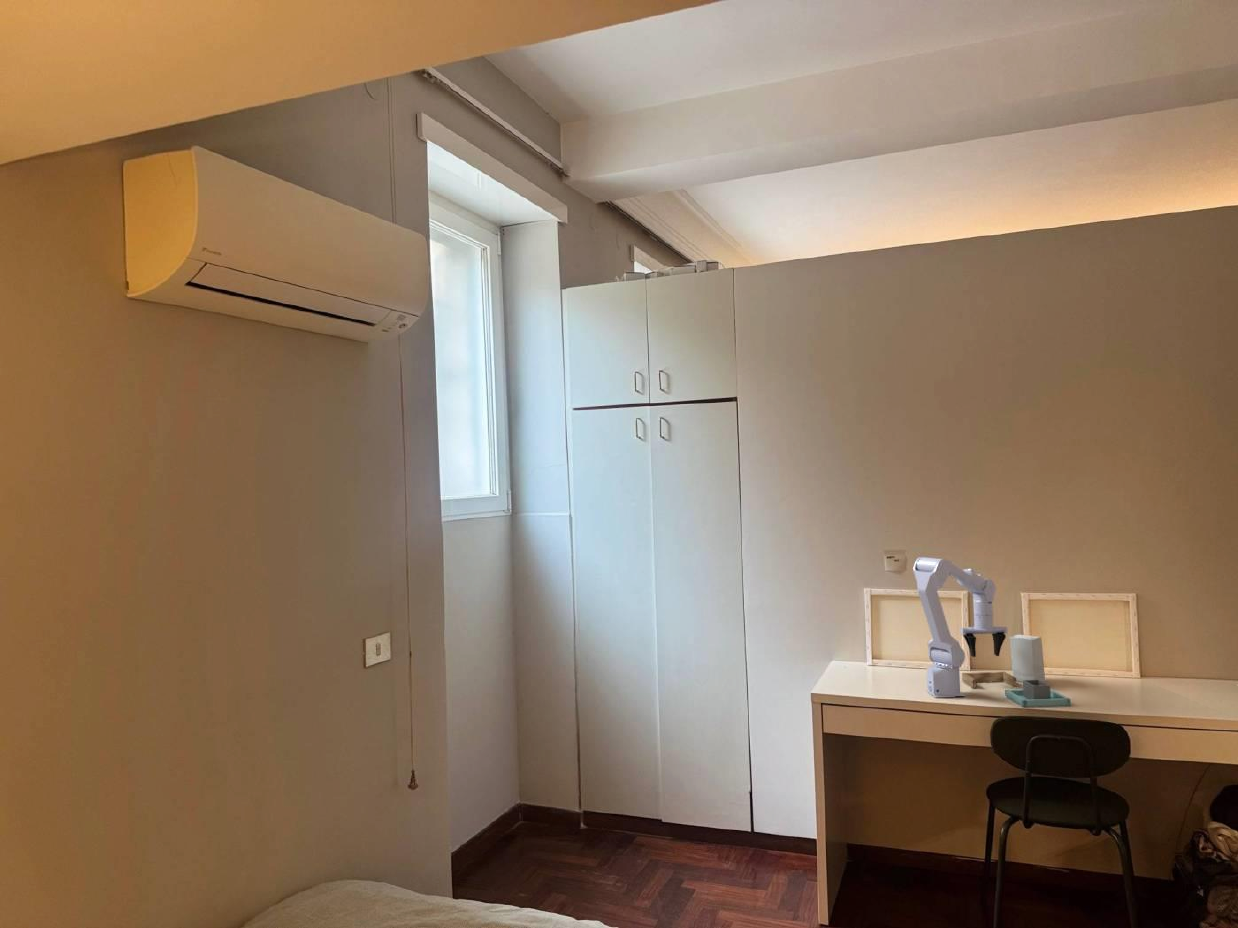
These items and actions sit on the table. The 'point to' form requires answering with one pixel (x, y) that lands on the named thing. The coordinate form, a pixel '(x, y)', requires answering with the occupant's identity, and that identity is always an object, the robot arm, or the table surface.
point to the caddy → (1036, 689)
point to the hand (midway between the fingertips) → (985, 655)
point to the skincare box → (1027, 658)
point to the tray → (1055, 699)
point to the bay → (987, 678)
